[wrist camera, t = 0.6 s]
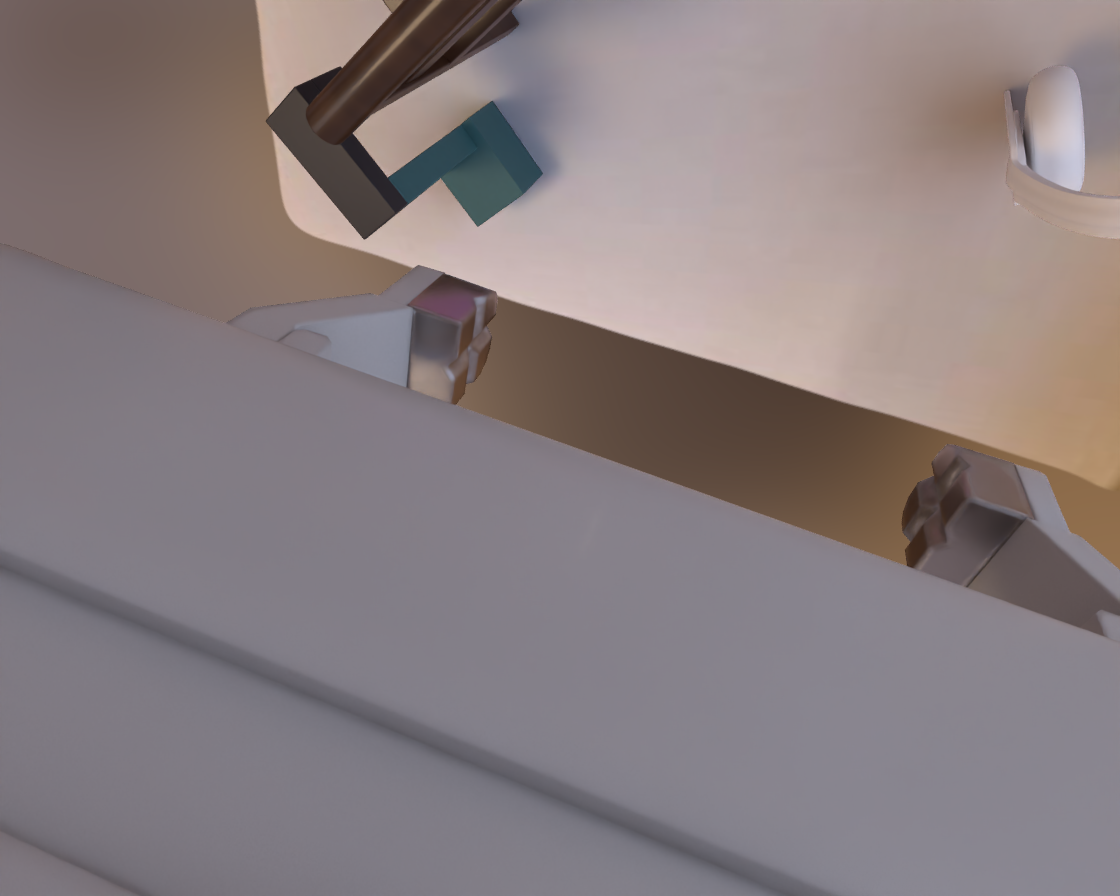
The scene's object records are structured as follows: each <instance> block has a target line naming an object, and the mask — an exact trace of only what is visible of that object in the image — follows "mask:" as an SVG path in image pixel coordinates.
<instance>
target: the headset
mask: <svg viewBox="0 0 1120 896" xmlns="http://www.w3.org/2000/svg"><path fill="white" fill-rule="evenodd" d="M1004 100H1005V111H1006V122H1007V133H1008V142H1009V159H1008V164H1007V172H1006V184H1007V186H1008V187H1009V188H1010V189H1011V190H1012V191H1013V200H1014V205H1019V204H1020V205H1021V206H1022V207H1024V208H1025V209H1027V210H1028V211H1029V212H1031V213H1033V214H1034V215H1036V216H1037V217H1039V218H1041V219H1043V220H1045V221H1047V222H1049V223H1051V224H1053V225H1055V226H1058V227H1060V228H1063V229H1066V230H1069V231H1072V232H1076V233H1080V234H1084V235H1089V236H1095V237H1102V238H1111V239H1120V196H1104V195H1095V194H1088V193H1083V192H1079V191H1080V190H1081V187H1082V184H1083V179H1084V169H1085V138H1084V119H1083V107H1082V98H1081V91H1080V85H1079V81H1078V78H1077V75H1076V73H1075V72H1074V70H1073V69H1071V68H1070V67H1067V66H1052V67H1048V68H1046V69H1043V70H1042V71H1040V72H1038V73H1037V74H1036V75H1035V76H1034V77H1033V78H1032V79H1031V81H1030V83H1029V86H1028V93H1027V95H1026V104H1025V117H1024V130H1023V135H1022V129H1021V122H1020V116H1019V112H1018V110H1015V111H1013V107H1012V101H1011V96H1010V91H1009V90H1008V91H1005V92H1004Z"/></svg>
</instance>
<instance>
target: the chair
mask: <svg viewBox="0 0 1120 896" xmlns="http://www.w3.org/2000/svg"><path fill="white" fill-rule="evenodd" d="M383 1H384V3H385V4H386V5H387V7H388V8H389V10H390V11H391V12H392V14H391V15H390V16H389V17H388V18H387V19H386V20H385V22H384V23H383V24H382V25H381V26H380V27H379V28H378V29H377V30H376V32H375V33H374V34H373V35H372V36H371V37H370V38H369V39H368V40H367V42H366V43H365V44H364V45H363V46H362V47H361V48H360V49H359V50H358V51H357V53H356V54H355V55H354V56H353V57H352V58H351V59H350V60H349V61H348V63H347V64H346V65H345V66H344V67H343V68H342V69H341V70H340V71H339V72H338V74H337V75H336V76H335V77H334V78H333V79H332V80H331V81H330V82H329V84H328V85H327V86H326V87H325V88H324V89H323V90H322V91H321V92H320V94H319V95H318V96H317V97H316V98H315V99H314V100H313V101H312V102H311V103H310V105H309V106H308V107H307V109H306V119H307V122H308V124H309V126H310V127H311V129H312V130H313V132H314V133H315V134H316V135H317V136H318V137H319V138H321V139H322V140H323V141H325V142H327V143H329V144H332V145H339V144H342V143H343V142H344V141H345V140H346V139H347V138H348V137H349V136H350V135H351V134H352V133H353V132H354V131H355V130H356V129H357V128H358V127H359V126H360V125H361V124H362V123H363V122H364V121H365V120H366V119H367V118H368V117H369V116H370V115H372V114H374V113H375V112H377V111H379V110H381V109H382V108H384V107H386V106H387V105H389V104H391V103H393V102H394V101H396V100H398V99H399V98H401V97H403V96H405V95H406V94H408V93H410V92H411V91H413V90H415V89H417V88H418V87H420V86H422V85H423V84H425V83H427V82H429V81H430V80H432V79H434V78H435V77H437V76H439V75H441V74H442V73H444V72H446V71H448V70H449V69H451V68H453V67H454V66H456V65H458V64H460V63H461V62H463V61H465V60H466V59H468V58H470V57H472V56H473V55H475V54H477V53H478V52H480V51H482V50H484V49H485V48H487V47H489V46H490V45H492V44H494V43H496V42H497V41H499V40H501V39H502V38H504V37H506V36H508V35H509V34H510V33H511V32H512V31H513V30H514V29H515V28H516V27H517V26H518V25H519V23H518V21H517V20H516V18H515V17H514V15H513V14H512V12H511V10H512V9H513V8H514V7H515V6H516V5H517V4H518V3H520V2H521V1H522V0H383Z"/></svg>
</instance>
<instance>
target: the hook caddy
mask: <svg viewBox="0 0 1120 896" xmlns="http://www.w3.org/2000/svg"><path fill="white" fill-rule="evenodd" d="M341 69H342V68H341V67H337V68H335V69H333V70H331V71H329V72H326V73H324V74H322V75H320V76H318V77H315V78H313V79H311V80H309V81H307V82H305V83H302V84H300V85H298V86H296V87H294V88H293V89H292V91H291V92H290V93H289V94H288V95H287V96H286V98H285V99H284V100H283V101H282V102H281V103H280V105H279V106H278V107H277V108H276V109H275V110H274V112H273V113H272V114H271V115H270V116H269V117H268V119H267V120H266V122H267V124H268V125H269V126H270V127H271V128H272V130H273V131H274V132H275V133H276V134H277V136H278V137H279V138H280V139H281V140H282V142H283V143H284V144H285V145H286V146H287V148H288V149H289V150H290V151H291V152H292V154H293V155H294V156H295V157H296V158H297V160H298V161H299V162H300V163H301V164H302V166H303V167H304V168H305V169H306V170H307V172H308V173H309V174H310V175H311V176H312V178H313V179H314V180H315V181H316V182H317V184H318V185H319V186H320V187H321V188H322V190H323V191H324V192H325V193H326V194H327V196H328V197H329V198H330V199H331V200H332V202H333V203H334V204H335V205H336V206H337V208H338V209H339V210H340V211H341V212H342V214H343V215H344V216H345V217H346V218H347V220H348V221H349V222H350V223H351V224H352V226H353V227H354V228H355V229H356V230H357V232H358V233H359V234H360V235H361V236H362V238H363V239H366V238H368V237H369V236H370V235H371V234H373V233H374V232H375V231H376V230H378V229H379V228H380V227H381V226H382V225H384V224H385V223H386V222H387V221H389V220H390V219H391V218H392V217H394V216H395V215H396V214H397V213H398V212H400V211H401V210H402V209H403V208H405V207H406V206H407V205H408V204H410V203H411V202H412V201H413V200H414V199H416V198H417V197H418V196H419V195H421V194H422V193H423V192H424V191H426V190H427V189H428V188H429V187H430V186H432V185H433V184H434V183H435V182H437V181H438V180H439V179H440V178H441V179H442V180H443V182H444V183H445V184H446V186H447V187H448V188H449V190H450V191H451V192H452V194H453V195H454V196H455V198H456V199H457V200H458V201H459V203H460V204H461V205H462V207H463V208H464V209H465V211H466V212H467V213H468V215H469V216H470V217H471V219H472V220H473V221H474V223H475V224H476V225H477V226H480V225H481V224H483V223H484V222H485V221H487V220H488V219H489V218H491V217H492V216H494V215H495V214H496V213H498V212H499V211H501V210H502V209H503V208H505V207H506V206H508V205H509V204H510V203H512V202H513V201H514V200H516V199H517V198H519V197H520V196H521V195H523V194H524V193H525V192H526V191H527V190H528V189H529V188H530V187H531V186H532V185H533V184H534V183H535V181H536V180H537V179H538V178H539V177H540V176H541V175H542V174H543V173H542V172H541V170H540V169H539V167H538V166H537V165H536V163H535V162H534V160H533V159H532V157H531V156H530V154H529V153H528V152H527V150H526V149H525V147H524V146H523V144H522V143H521V141H520V140H519V139H518V137H517V136H516V134H515V133H514V131H513V130H512V128H511V127H510V126H509V124H508V123H507V121H506V120H505V118H504V117H503V115H502V114H501V113H500V111H499V110H498V108H497V107H496V105H495V104H494V102H493V101H491V102H490V103H489V104H487V105H486V106H484V107H483V108H482V109H480V110H479V111H477V112H476V113H475V114H473V115H472V116H471V117H469V118H468V119H467V120H466V121H464V122H463V123H462V124H461V125H460V126H458V127H457V128H456V129H454V130H453V131H451V132H450V133H449V134H447V135H446V136H444V137H443V138H442V139H440V140H439V141H438V142H436V143H435V144H433V145H432V146H431V147H429V148H428V149H427V150H425V151H424V152H422V153H421V154H420V155H418V156H417V157H416V158H414V159H413V160H411V161H410V162H409V163H407V164H406V165H404V166H403V167H402V168H400V169H399V170H398V171H396V172H395V173H393V174H392V175H391V176H389V177H388V178H387V176H386V175H385V174H384V173H383V171H382V170H381V169H380V167H379V166H378V165H377V164H376V162H375V161H374V160H373V159H372V157H371V156H370V155H369V153H368V152H367V151H366V150H365V148H364V147H363V146H362V145H361V143H360V142H359V141H358V140H357V138H356V137H355V136H354V134H353V133H352V134H351V135H350V136H349V137H348V138H347V139H346V140H345V141H344V142H343V143H342V144H339V145H332V144H329V143H327V142H325V141H323V140H322V139H321V138H319V137H318V136H317V135H316V134H315V133H314V132H313V130H312V129H311V127H310V126H309V124H308V122H307V119H306V109H307V107H308V106H309V105H310V103H311V102H312V101H313V100H314V99H315V98H316V97H317V96H318V95H319V94H320V92H321V91H322V90H323V89H324V88H325V87H326V86H327V85H328V84H329V82H330V81H331V80H332V79H333V78H334V77H335V76H336V75H337V74H338V72H339V71H340V70H341Z"/></svg>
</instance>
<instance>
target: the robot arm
mask: <svg viewBox="0 0 1120 896" xmlns="http://www.w3.org/2000/svg"><path fill="white" fill-rule="evenodd" d="M497 300H498V298H497V293H496V291H493V290H490V289H487V288H484V287H481V286H479V285H476V284H473V283H470V282H467V281H465V280H462V279H459V278H456V277H453V276H450V275H447V274H445V273H444V272H441V271H437V270H434V269H430V268H427V267H424V266H420V265H418V266H416V267H415V268H413V269H412V270H411V271H410V272H408V273H407V274H406V275H404V276H403V277H402V278H400V279H399V280H398V281H397V282H395V283H394V284H393V285H391V286H390V287H389V288H387V289H386V290H385V291H384V292H382V293H381V294H380V295H378V296H377V295H374V294H371V293H369V294H361V295H352V296H344V297H336V298H327V299H320V300H311V301H303V302H295V303H287V304H278V305H271V306H262V307H254V308H250V309H248V310H246V311H245V312H243V313H241V314H240V315H238V316H236V317H235V318H233V319H232V320H230V321H228V322H227V323H223V322H220V321H218V320H215V319H212V318H209V317H206V316H204V315H201V314H198V313H195V312H192V311H190V310H187V309H184V308H181V307H178V306H175V305H173V304H170V303H167V302H164V301H162V300H159V299H156V298H153V297H150V296H147V295H145V294H142V293H139V292H136V291H133V290H131V289H128V288H125V287H122V286H119V285H116V284H114V283H111V282H108V281H105V280H102V279H100V278H97V277H94V276H91V275H88V274H86V273H83V272H80V271H77V270H74V269H71V268H69V267H66V266H63V265H60V264H58V263H56V262H53V261H50V260H48V259H45V258H43V257H40V256H38V255H35V254H33V253H30V252H27V251H24V250H21V249H18V248H15V247H12V246H10V245H6V244H1V243H0V896H1120V570H1119V569H1118V568H1117V567H1115V566H1114V565H1113V564H1112V563H1111V562H1110V561H1109V560H1107V559H1106V558H1105V557H1104V556H1102V554H1100V553H1099V552H1098V551H1097V550H1096V549H1094V548H1093V547H1092V546H1091V545H1090V544H1088V543H1087V542H1086V541H1085V540H1084V539H1083V538H1082V537H1081V536H1079V535H1076V534H1073V533H1070V531H1069V529H1068V527H1067V524H1066V522H1065V520H1064V517H1063V515H1062V512H1061V510H1060V508H1059V506H1058V503H1057V501H1056V498H1055V496H1054V494H1053V491H1052V489H1051V486H1050V484H1049V482H1048V479H1047V477H1046V475H1044V474H1043V473H1041V472H1040V471H1036V470H1033V469H1029V468H1026V467H1022V466H1019V465H1015V464H1014V463H1011V462H1008V461H1005V460H1002V459H998V458H995V457H992V456H989V455H985V454H982V453H978V452H975V451H973V450H969V449H966V448H962V447H959V446H956V445H949V444H947V445H946V446H945V447H944V448H943V449H942V450H941V451H940V452H939V453H938V455H937V456H936V457H935V459H934V460H933V462H932V468H933V474H934V476H932V477H930V478H927V479H925V480H923V481H920V482H918V483H917V485H916V487H915V488H914V490H913V491H912V493H911V494H910V496H909V498H908V500H907V503H906V505H905V508H904V511H903V516H902V531H903V533H904V535H905V536H906V537H907V538H908V539H909V540H910V544H909V545H908V546H907V548H906V549H905V553H906V561H907V566H905V565H902V564H899V563H896V562H893V561H891V560H888V559H885V558H882V557H879V556H877V555H874V554H871V553H868V552H866V551H863V550H860V549H857V548H854V547H851V546H848V545H846V544H843V543H840V542H838V541H835V540H832V539H829V538H826V537H824V536H821V535H818V534H815V533H812V532H810V531H807V530H804V529H801V528H798V527H796V526H793V525H790V524H787V523H784V522H782V521H779V520H776V519H773V518H770V517H768V516H765V515H762V514H759V513H756V512H754V511H751V510H748V509H745V508H742V507H740V506H736V505H734V504H731V503H728V502H726V501H723V500H720V499H717V498H714V497H712V496H709V495H706V494H703V493H700V492H698V491H695V490H692V489H689V488H686V487H684V486H681V485H678V484H675V483H672V482H669V481H667V480H664V479H661V478H658V477H655V476H653V475H650V474H647V473H644V472H641V471H639V470H636V469H633V468H630V467H627V466H624V465H622V464H619V463H616V462H613V461H611V460H608V459H605V458H602V457H599V456H597V455H594V454H591V453H588V452H585V451H583V450H580V449H577V448H574V447H571V446H569V445H566V444H563V443H560V442H557V441H555V440H552V439H549V438H546V437H543V436H541V435H538V434H535V433H532V432H529V431H527V430H523V429H521V428H518V427H515V426H513V425H510V424H507V423H504V422H501V421H498V420H496V419H493V418H490V417H487V416H485V415H482V414H479V413H476V412H473V411H470V410H467V409H465V408H462V407H459V406H457V405H456V404H457V403H458V401H459V400H460V399H461V398H462V396H463V395H464V394H465V387H466V384H468V383H472V382H474V381H475V380H476V379H477V377H478V376H479V375H480V373H481V371H482V369H483V367H484V365H485V363H486V360H487V356H488V353H489V350H490V345H491V339H492V336H491V333H490V331H489V329H488V327H487V324H488V323H489V322H490V321H491V320H492V319H493V318H494V316H495V315H496V308H497Z"/></svg>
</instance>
